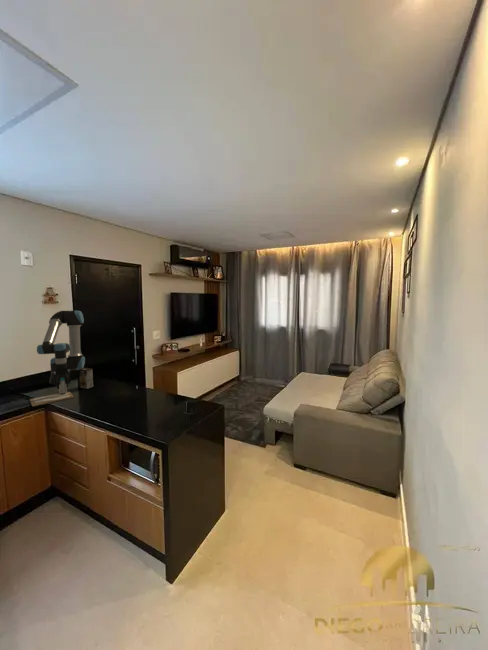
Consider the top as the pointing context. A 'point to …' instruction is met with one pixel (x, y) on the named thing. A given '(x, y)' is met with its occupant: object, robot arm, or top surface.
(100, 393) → the top surface
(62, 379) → the marker
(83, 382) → the coffee box
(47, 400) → the writing board
